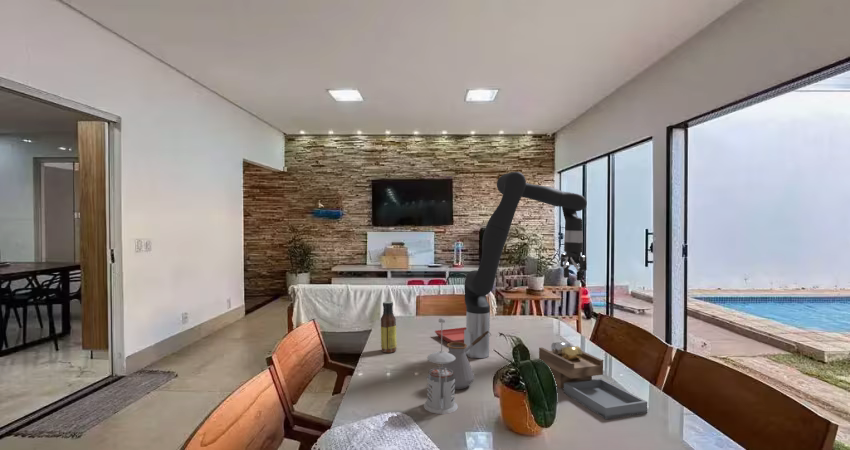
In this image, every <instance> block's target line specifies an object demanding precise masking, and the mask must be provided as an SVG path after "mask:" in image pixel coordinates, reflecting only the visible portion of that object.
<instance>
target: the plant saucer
mask: <svg viewBox="0 0 850 450" xmlns="http://www.w3.org/2000/svg"><path fill="white" fill-rule="evenodd" d="M465 329H466V326H465V327H457V328H447V329H442V341H445V342H447V343H451V342H461V343H464V330H465ZM434 333H435V335H437V336H438V338H439V339H441V329H438V330H434Z"/></svg>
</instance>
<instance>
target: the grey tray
mask: <svg viewBox="0 0 850 450" xmlns="http://www.w3.org/2000/svg"><path fill="white" fill-rule="evenodd" d="M563 393H564V394H565V393H566V394H565V395H567V396H568V395H569V396H568V397H570V398H571V397H572V398H571V399H573V400H574V399H575V401H576V402H577V403H579V404H580V405H582V406H584V407H585V408H587V409H589V410H590V411H592V412H594V413H595V414H597V415H599V416H600V417H602V418H603V419H605V420H609V419H617V418H623V417H629V416H636V415H641V414H647V413H648V401H647V400H645V399H642V398H641V397H640V396H639V397H638V396H637V395H635V394H634V393H630V392H628V391H627V390H625V389H623V388H621V387H619V386H617V385H615V384H614V383H611V382H609V381H607V380H605V379H603V378H594V379H593V378H592V380H584V381H576V382H568V383H564V388H563Z"/></svg>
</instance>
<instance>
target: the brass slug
mask: <svg viewBox="0 0 850 450" xmlns="http://www.w3.org/2000/svg"><path fill="white" fill-rule="evenodd" d="M582 351H583V350H582V349H581V347H580V346H578V345H577V346H576V345H575V346H572V347H564V348H563V349H562V357H563V358H564V359H566V360H575V359H581V358H582Z"/></svg>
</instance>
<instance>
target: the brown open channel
mask: <svg viewBox="0 0 850 450" xmlns="http://www.w3.org/2000/svg"><path fill="white" fill-rule="evenodd" d="M570 346H571V347H573V346H572V345H570ZM538 353H539V354H538V360H539V359H541V360H543V361H544V362H545V363H546V364H547V365H548V366H549V367H550V369H551V371H552V373H553V375H554V378H555V381H556V384H557V386H556V387H557V388H559V389H560V388H561V389H564V383H568V382H576V381H584V380H592V379H593V377H596V376H603V375H604V359H601V358H599V357H597V356H594V355H592V354H590V353H589V352H588V353H587V352H586V351H583V350H582V358H581V359H575V360H566V359H564V358H563V357H562V354H561V355H556V354H554V353H553V352H552V350H548V349H546V348H544V347H539V348H538Z"/></svg>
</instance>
